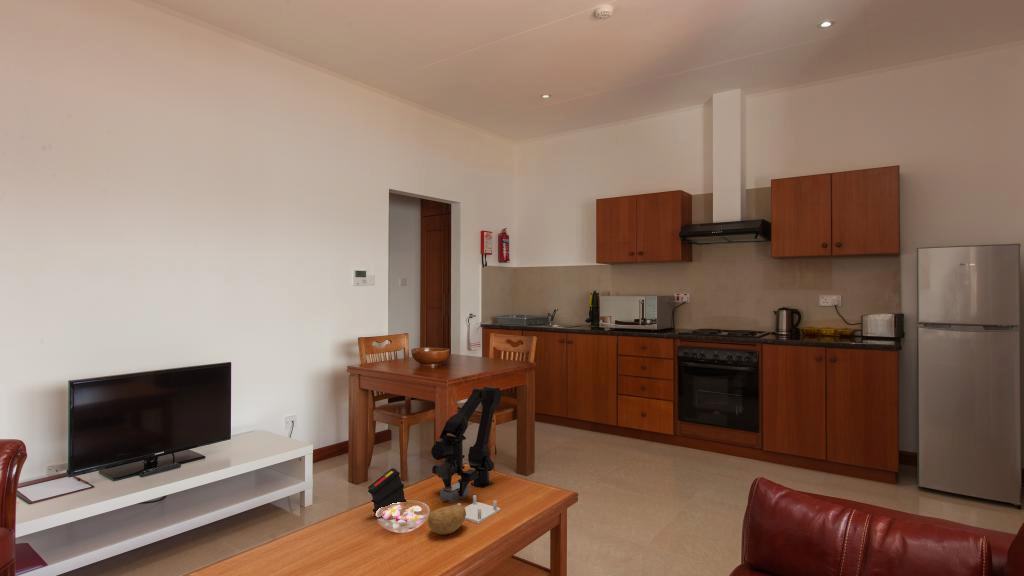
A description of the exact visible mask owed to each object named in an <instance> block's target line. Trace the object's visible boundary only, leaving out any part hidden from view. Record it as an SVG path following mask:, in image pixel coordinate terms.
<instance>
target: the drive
mask: <svg viewBox="0 0 1024 576" xmlns="http://www.w3.org/2000/svg"><path fill="white" fill-rule="evenodd" d="M469 496H470V484H468V485H467V487H466V489H465V492H464V494H463V496H460V483H459V482H458V481H456V482H454V483H451V485H450V486H447V487H445V486H444V487H443V488H441V489H439V500H440V499H441V500H440V501H442V500H445V501H444V502H446V501H448V502H447V503H449V502H450V503H451V504H454V503H456V502H458V501H460V500H463V499H465V498H466V497H469Z"/></svg>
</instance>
